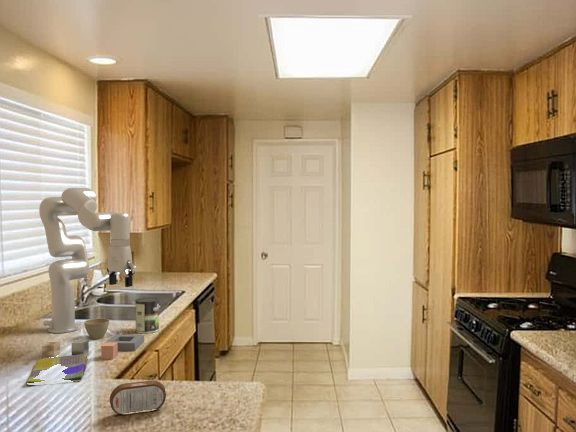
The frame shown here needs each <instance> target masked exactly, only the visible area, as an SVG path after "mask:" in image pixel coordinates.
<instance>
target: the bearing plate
mask: <svg viewBox="0 0 576 432" xmlns="http://www.w3.org/2000/svg"><path fill="white" fill-rule="evenodd" d="M106 342H117V345H118V351H119V352H121V351H122V352H123V351H129V352H131V351H133V352H134V351H136V350H137V349H139V348H140V346H141V345H143V344H144V343H145V334H114V335H113V336H110V338H109V339H107V340H106V341H105V342H104V343H106Z"/></svg>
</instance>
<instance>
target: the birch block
mask: <svg viewBox="0 0 576 432" xmlns="http://www.w3.org/2000/svg"><path fill="white" fill-rule="evenodd" d="M60 346H61V342H60V341H47V342H45V343H43V344H42V345H41V357H42V358H49V357H50V358H51V357H56V356H57V355H59V354H60V355H61V347H60ZM60 355H59V356H60ZM42 358H41V359H42Z"/></svg>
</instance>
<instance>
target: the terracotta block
mask: <svg viewBox="0 0 576 432" xmlns="http://www.w3.org/2000/svg"><path fill="white" fill-rule="evenodd" d="M105 342H106V341H105ZM105 342H104V343H103V344H102V345H101V346H100V358H101V359H100V360H114V359H115V358H116V357H118V356H119V355H118V353H119V352H118V345H117V342H106V343H105Z"/></svg>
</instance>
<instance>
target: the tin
mask: <svg viewBox="0 0 576 432" xmlns="http://www.w3.org/2000/svg"><path fill="white" fill-rule="evenodd" d="M166 392H167V391H166V388H165V386H164V385H163V383H161V382H160V381H158V380H153V379H151V380H145V381H136V382H135V381H133V382H126V383H121V384H119V385H117V386H116V387H114V389H113V390H112V391H111V393H110V396H109V404H110V409H111V410H112V412H114V413H115V414H116V415H118V414H123V413H129V412H136V411H143V410H152V409H158V410H159V409H160V408H162V406H163V405H164V404H165V402H166V399H167V397H166V396H167V393H166Z"/></svg>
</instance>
